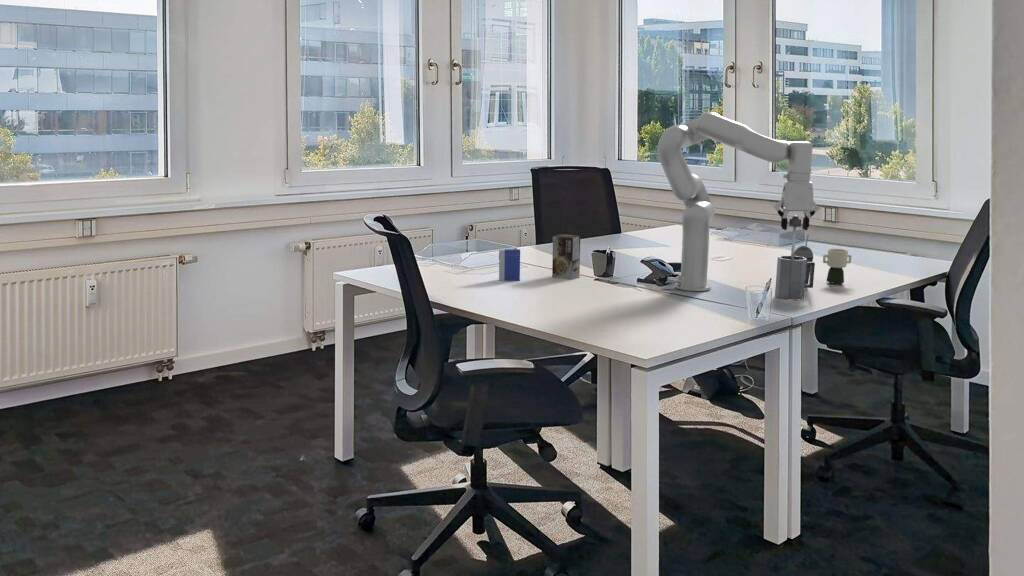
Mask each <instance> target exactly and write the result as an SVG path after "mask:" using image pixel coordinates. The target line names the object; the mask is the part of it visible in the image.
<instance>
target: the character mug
mask: <svg viewBox="0 0 1024 576" xmlns="http://www.w3.org/2000/svg"><path fill="white" fill-rule="evenodd" d="M822 263H823V264H826V265H827V266H828V267H829V269H828V273H827V276H826V282H827V283H830V284H831V285H832V284H835V285H836V284H837V285H838V284H844V283H845V273H844V272H845V271H844V268H846V267H847V264H851V263H852V254H849V253H848V250H847V249H843V248H829V249H828V250H827V254H824V255H823V256H822Z"/></svg>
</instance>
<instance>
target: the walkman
mask: <svg viewBox="0 0 1024 576" xmlns="http://www.w3.org/2000/svg"><path fill="white" fill-rule="evenodd" d="M498 251H499V252H498V260H499V261H498V267H499V269H498V281H499V282H500V281H501V282H505V281H506V282H507V281H509V282H517V281H518V282H520V280H521V249H520V248H518V247H517V248H516V247H515V248H510V249H509V248H499V250H498Z"/></svg>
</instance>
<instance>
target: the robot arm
mask: <svg viewBox="0 0 1024 576" xmlns="http://www.w3.org/2000/svg"><path fill="white" fill-rule="evenodd" d="M708 139H710V140H713V141H714V142H715V141H716V142H718V143H721V144H723V145H725V146H728V147H731V148H733V149H735V150H738V151H741V152H744V153H746V154H748V155H751V156H753V157H755V158H758V159H761V160H764V161H766V162H768V163H772V164H778V163H781V162H788V163H787V164H788V165H787V172H786V174H783V176H782V177H783V179H786V181H785V182H784V184H783V188H782V192H781V193H782V194H781V199H780V200H779V201H778V202H776V203H775V204H774V205H773V207H772V208H773V209H774V211H775V212H776V213H777V214H778V215H779V216H780V219H781V220H780V221H781V223H780V227H781V229H782V230H784V231H786V230H788V222H789V221H788V218H787V216H788V215H789V213H790V212H802V213H803V215H804V217H803V218H802V229H803V231H808V230H809V229H808V228H809V227H810V220H811V218H812V217H813V216H814V215H815V214H816V212H818V210H819V209H820V206H819V205H818V204H817V203H816V202H815V201H814V185H813V184H814V183H813V182H812V181H811V171H812V169H811V167H812V159H813V144H812V142H810V141H801V140H800V141H787V140H781V139H773V138H770V137H768V136H765V135H763V134H760V133H758V132H756V131H754V130H752V129H751V128H750V127H748V126H747V125H745V124H742V123H740V122H737V121H735V120H731V119H729V118H727V117H724V116H721V115H720V114H719V113H717V112H713V111H711V112H708V111H706V112H704V113H702V114H700V115H699V116H698V117H697V118H695V119H691V120H689V121H687V122H684V123H682V124H674V125H671V126H670V127H668V128H666V129H665V131H663V133H662V135H661V136H660V137H659V140H658V143H657V156H658V161H659V162H660V164H661V167H662V169H663V172H664V174H665V176H666V179H667V181H668V184H669V185H670V187H671V190H672V193H673V195H674V197H675V198H676V199H678V200H679V201H681V202H683V204H684V207H685V208H684V211H683V213H682V217H681V218H682V221H681V222H682V238H681V239H682V240H681V241H682V242H681V266H680V274H678V276H676V277H673V276H667V283H672V284H675V288H676V289H678V290H681V291H686V292H687V291H688V292H707V291H711V289H712V285H710V284H709V283H708V267H709V252H710V250H709V248H710V223H712V221H713V220H714V218H715V214H716V210H715V206H714V205H713V202H712V200H711V197H710V194H709V193H708V191H707V189H706V186H705V183H704V182H703V181H702V179H701V178H700V177H699V176H698V175H696V174H694V173H692V171H691V169H690V168H689V167H690V166H689V165H688V162H687V161H686V158H685V157H684V155H683V153H682V150H683V149H685V148H688V147H691V146H692V145H693V146H694V145H695V144H698V143H700V142H703V141H706V140H708ZM780 208H781V209H782V210H781V209H780Z"/></svg>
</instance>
